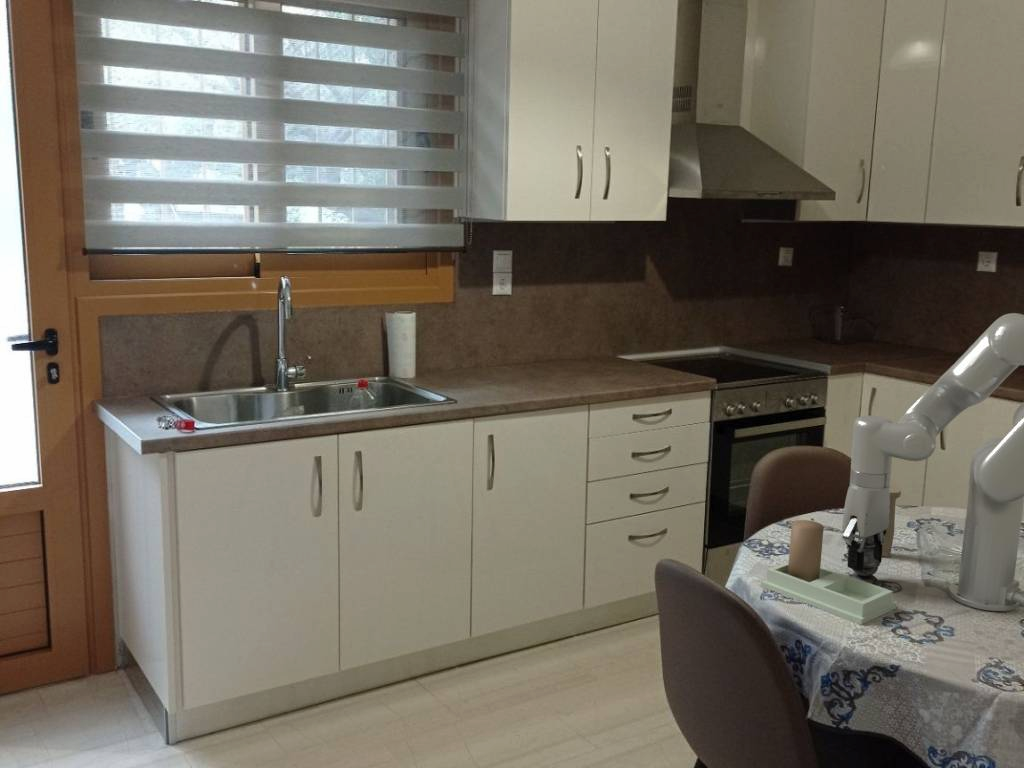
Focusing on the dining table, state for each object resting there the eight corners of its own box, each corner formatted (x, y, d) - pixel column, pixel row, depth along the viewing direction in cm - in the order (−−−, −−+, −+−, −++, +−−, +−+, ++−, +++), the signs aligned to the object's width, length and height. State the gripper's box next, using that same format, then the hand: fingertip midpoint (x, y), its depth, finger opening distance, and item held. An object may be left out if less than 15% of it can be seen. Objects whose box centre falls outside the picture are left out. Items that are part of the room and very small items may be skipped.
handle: (872, 558, 213) (878, 491, 210) (868, 548, 219) (875, 483, 216) (895, 561, 212) (902, 493, 209) (892, 550, 218) (898, 485, 215)
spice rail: (896, 608, 187) (902, 542, 185) (861, 624, 180) (867, 556, 177) (796, 572, 204) (801, 512, 202) (760, 586, 197) (765, 523, 194)
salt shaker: (881, 585, 197) (885, 527, 195) (850, 582, 198) (853, 525, 196) (876, 574, 203) (880, 517, 201) (846, 572, 204) (850, 516, 202)
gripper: (876, 467, 205) (870, 550, 208) (828, 482, 194) (823, 570, 197) (910, 475, 199) (904, 560, 203) (863, 490, 188) (857, 581, 192)
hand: (864, 564), depth 200 cm, fingers closed on salt shaker, 5 cm apart
